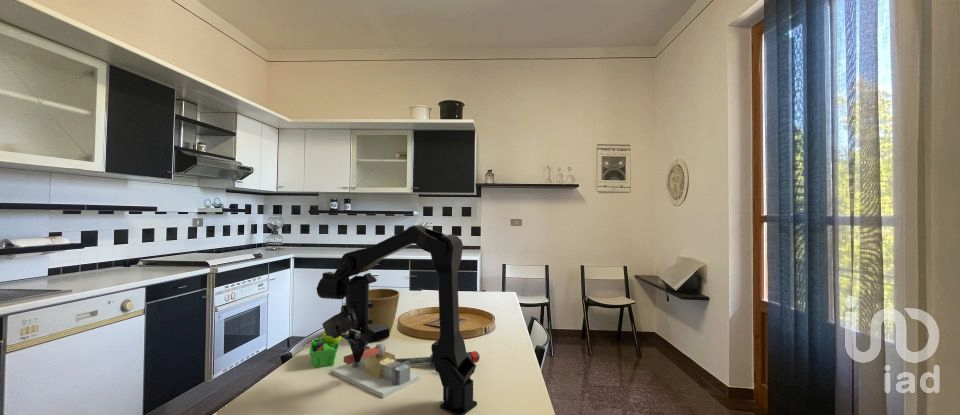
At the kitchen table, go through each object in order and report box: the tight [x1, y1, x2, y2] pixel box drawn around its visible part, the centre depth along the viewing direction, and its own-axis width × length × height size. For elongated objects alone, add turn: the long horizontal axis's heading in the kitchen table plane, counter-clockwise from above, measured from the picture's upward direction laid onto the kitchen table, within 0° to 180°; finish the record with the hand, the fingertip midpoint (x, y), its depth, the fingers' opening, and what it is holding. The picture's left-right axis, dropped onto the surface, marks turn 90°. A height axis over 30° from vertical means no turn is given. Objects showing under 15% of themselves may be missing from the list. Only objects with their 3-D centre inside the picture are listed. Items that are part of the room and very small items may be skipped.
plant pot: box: [368, 288, 400, 343], centre depth 128 cm, size 15×15×16 cm
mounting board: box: [331, 363, 420, 399], centre depth 99 cm, size 22×12×1 cm, turn 54°
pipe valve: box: [351, 345, 411, 385], centre depth 99 cm, size 20×5×5 cm, turn 54°
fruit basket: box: [308, 330, 343, 369], centre depth 109 cm, size 11×9×11 cm
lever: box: [343, 343, 386, 365], centre depth 96 cm, size 11×2×2 cm, turn 140°
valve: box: [395, 350, 480, 367], centre depth 109 cm, size 6×26×15 cm
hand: (357, 362), depth 92 cm, fingers closed
